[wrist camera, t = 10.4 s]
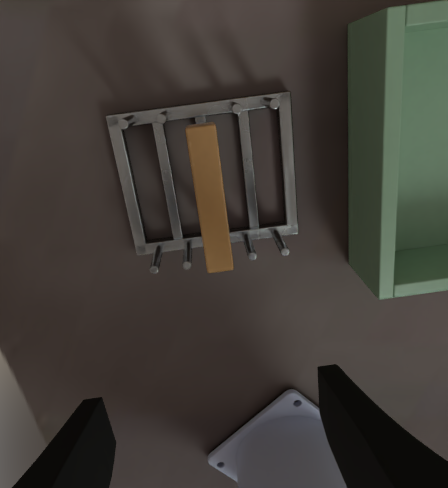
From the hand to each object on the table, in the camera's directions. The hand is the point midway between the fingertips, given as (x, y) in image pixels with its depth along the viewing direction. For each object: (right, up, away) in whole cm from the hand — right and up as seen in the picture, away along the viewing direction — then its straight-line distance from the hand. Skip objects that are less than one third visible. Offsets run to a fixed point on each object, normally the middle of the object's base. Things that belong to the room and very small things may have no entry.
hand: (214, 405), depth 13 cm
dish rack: (0, +9, +7) cm, 11 cm away
